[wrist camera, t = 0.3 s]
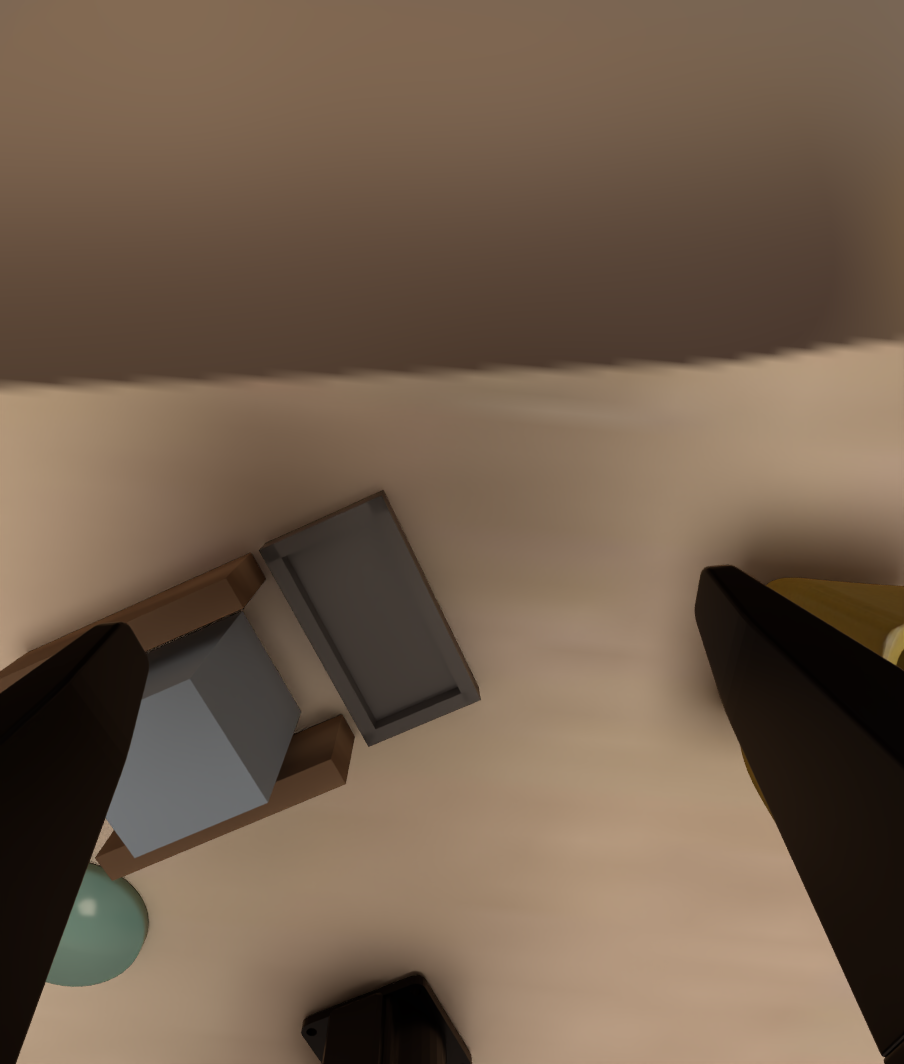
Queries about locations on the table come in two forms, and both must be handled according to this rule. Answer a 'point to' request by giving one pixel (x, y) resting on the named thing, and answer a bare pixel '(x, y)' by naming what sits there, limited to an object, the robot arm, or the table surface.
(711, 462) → the table surface
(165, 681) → the block
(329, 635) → the tray
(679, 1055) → the table surface
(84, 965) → the coaster
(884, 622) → the flower pot
